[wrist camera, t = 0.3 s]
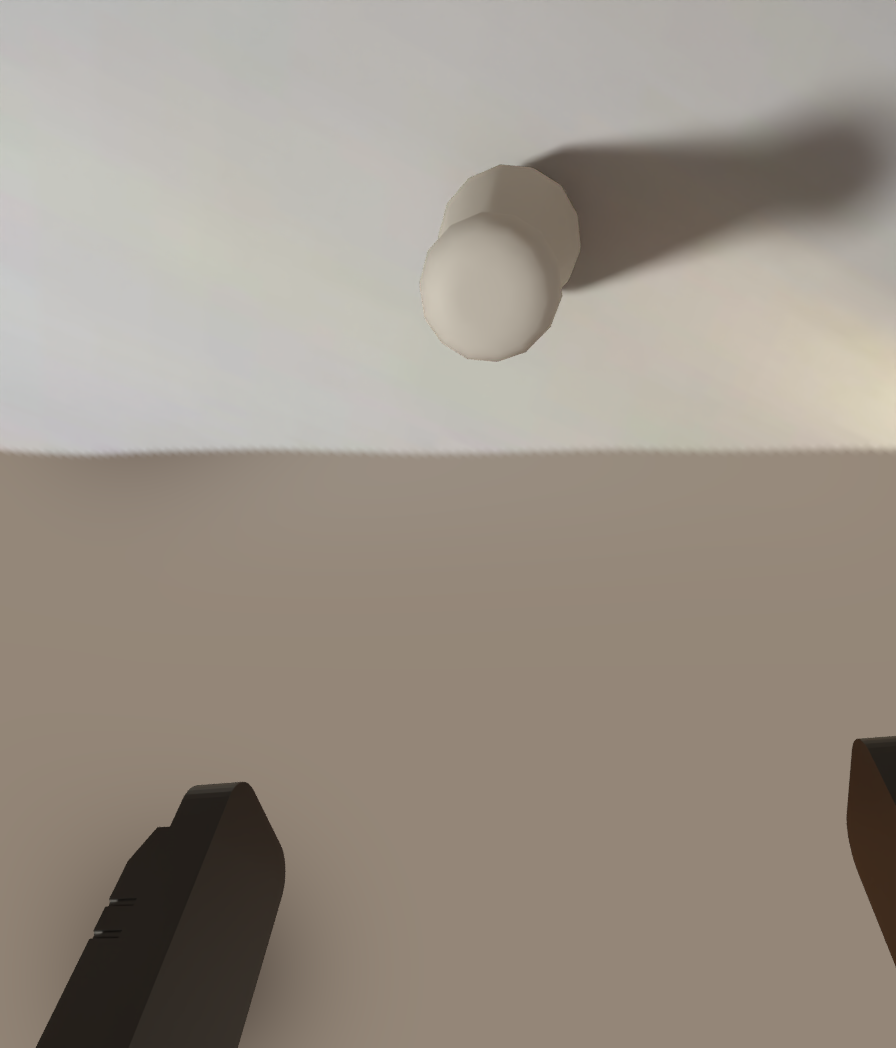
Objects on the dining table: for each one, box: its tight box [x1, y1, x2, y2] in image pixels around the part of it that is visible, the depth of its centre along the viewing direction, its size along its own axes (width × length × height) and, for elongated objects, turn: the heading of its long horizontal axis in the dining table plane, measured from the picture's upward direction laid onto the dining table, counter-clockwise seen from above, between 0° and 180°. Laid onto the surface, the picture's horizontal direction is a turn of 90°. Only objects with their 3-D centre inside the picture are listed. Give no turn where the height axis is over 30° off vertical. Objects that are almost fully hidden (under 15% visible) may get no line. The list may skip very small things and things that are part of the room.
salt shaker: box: [420, 165, 581, 362], centre depth 28 cm, size 6×6×13 cm
